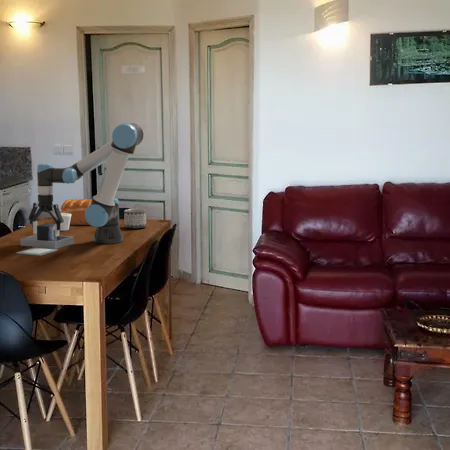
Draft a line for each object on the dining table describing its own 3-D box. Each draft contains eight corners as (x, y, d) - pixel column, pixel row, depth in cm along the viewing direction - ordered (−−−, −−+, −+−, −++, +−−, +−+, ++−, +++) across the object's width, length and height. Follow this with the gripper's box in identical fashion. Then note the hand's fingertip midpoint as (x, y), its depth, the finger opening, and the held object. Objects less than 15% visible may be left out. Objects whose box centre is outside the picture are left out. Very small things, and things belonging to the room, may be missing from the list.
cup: (55, 232, 374) (54, 216, 373) (53, 229, 383) (52, 213, 382) (73, 231, 378) (72, 215, 376) (70, 228, 387) (69, 212, 386)
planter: (142, 230, 383) (142, 212, 381) (121, 229, 385) (121, 211, 383) (148, 226, 395) (148, 209, 393) (128, 225, 397) (128, 208, 395)
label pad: (58, 250, 325) (58, 249, 325) (39, 255, 312) (39, 254, 312) (34, 247, 330) (34, 247, 330) (16, 253, 317) (16, 252, 317)
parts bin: (73, 243, 342) (73, 236, 342) (55, 248, 328) (55, 242, 327) (40, 240, 350) (39, 233, 350) (20, 245, 336) (20, 238, 336)
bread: (65, 221, 411) (64, 197, 409) (106, 222, 410) (106, 197, 407) (58, 225, 398) (57, 200, 395) (101, 226, 396) (100, 200, 394)
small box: (48, 246, 334) (47, 226, 332) (36, 246, 335) (35, 225, 333) (57, 242, 344) (57, 223, 342) (46, 242, 345) (45, 222, 343)
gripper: (70, 194, 334) (70, 236, 337) (30, 191, 343) (31, 231, 347) (61, 196, 327) (62, 238, 330) (20, 193, 336) (21, 233, 340)
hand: (46, 235), depth 338 cm, fingers open, 13 cm apart
